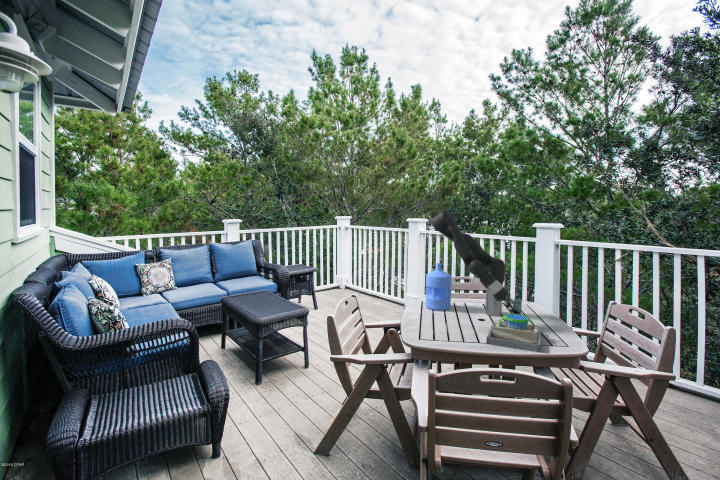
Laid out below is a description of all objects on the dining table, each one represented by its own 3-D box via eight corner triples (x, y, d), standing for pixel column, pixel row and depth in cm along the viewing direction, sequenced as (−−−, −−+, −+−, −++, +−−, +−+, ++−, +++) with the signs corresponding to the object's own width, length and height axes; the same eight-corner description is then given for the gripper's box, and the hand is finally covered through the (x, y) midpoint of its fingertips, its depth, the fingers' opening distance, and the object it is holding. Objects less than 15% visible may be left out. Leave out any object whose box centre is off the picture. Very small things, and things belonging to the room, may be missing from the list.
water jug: (431, 303, 240) (432, 261, 238) (454, 306, 231) (455, 263, 229) (421, 308, 228) (421, 264, 225) (444, 312, 218) (445, 266, 216)
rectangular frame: (493, 327, 190) (493, 322, 190) (540, 334, 180) (540, 328, 180) (486, 343, 167) (486, 337, 167) (540, 352, 157) (540, 345, 157)
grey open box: (497, 323, 196) (498, 297, 195) (537, 329, 187) (538, 301, 186) (492, 336, 176) (493, 307, 174) (537, 343, 167) (538, 312, 166)
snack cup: (533, 335, 178) (534, 315, 177) (534, 343, 168) (535, 321, 167) (499, 331, 184) (499, 312, 183) (498, 338, 174) (498, 317, 174)
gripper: (501, 288, 186) (525, 313, 181) (504, 283, 198) (526, 307, 194) (490, 297, 188) (513, 322, 184) (493, 292, 201) (515, 315, 197)
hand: (519, 314), depth 189 cm, fingers open, 8 cm apart
